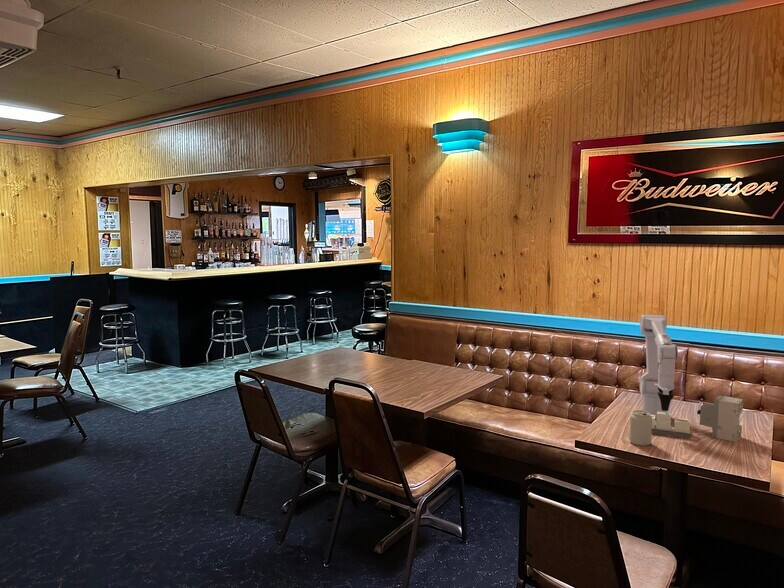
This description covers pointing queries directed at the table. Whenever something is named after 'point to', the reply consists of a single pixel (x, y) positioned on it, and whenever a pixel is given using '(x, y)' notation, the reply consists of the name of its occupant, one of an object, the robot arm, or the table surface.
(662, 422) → the block
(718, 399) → the circuit breaker
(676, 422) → the rail plate
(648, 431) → the can
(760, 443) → the table surface
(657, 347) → the robot arm
